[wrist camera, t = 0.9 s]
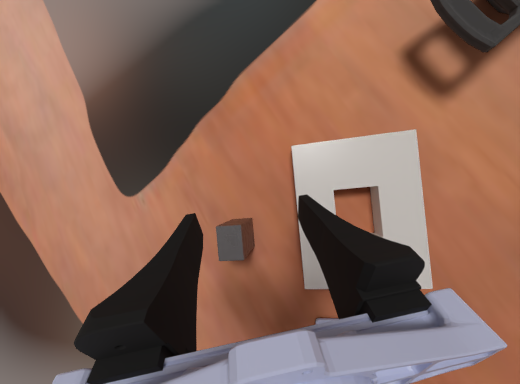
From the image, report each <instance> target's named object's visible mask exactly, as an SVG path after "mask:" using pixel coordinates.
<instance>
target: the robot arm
mask: <svg viewBox="0 0 520 384" xmlns="http://www.w3.org/2000/svg"><path fill="white" fill-rule="evenodd" d="M298 219H299V222H300V225H301V227H302V230H303V232H304V234H305V236H306V238H307V240H308V242H309V244H310V246H311V248H312V250H313V251H314V253H315V255H316V257H317V260H318V262H319V264H320V267H321V270H322V272H323V275H324V277H325V280H326V283H327V285H328V288H329V291H330V294H331V297H332V300H333V303H334V306H335V309H336V312H337V315H338V318H339V319H334V318H317V319H316V325H312V326H307V327H303V328H299V329H294V330H290V331H285V332H281V333H276V334H272V335H267V336H263V337H258V338H254V339H249V340H245V341H240V342H236V343H231V344H227V345H222V346H218V347H213V348H209V349H204V350H200V351H196V311H197V286H198V277H199V270H200V264H201V257H202V250H203V233H202V230H201V227H200V225H199V222H198V219H197V217H196V214H195V213H194V214H188V215H186V216H185V217H184V218H183V220H182V221H181V223H180V224H179V226H178V227H177V228H176V230H175V231H174V233H173V234H172V235H171V237H170V238H169V239H168V241H167V242H166V243H165V245H164V246H163V247H162V248H161V250H160V251H159V252H158V253H157V254H156V255H155V256H154V257H153V258H152V260H151V261H150V262H149V263H148V264H147V265H146V266H145V267H144V268H143V269H141V270H140V271H139V272H138V273H137V274H136V275H135V276H134V277H133V278H132V279H131V280H129V281H128V282H127V283H126V284H125V285H123V286H122V287H121V288H120V289H118V290H117V291H116V292H115V293H113V294H112V295H111V296H109V297H108V298H107V299H105V300H104V301H103V302H101V303H100V304H98V305H97V306H96V307H94V308H93V309H91V311H90V312H89V314H88V316H87V318H86V320H85V322H84V324H83V325H82V327H81V329H80V331H79V333H78V335H77V337H76V339H75V341H74V345H75V347H76V349H78V350H79V351H80V352H82V353H84V354H86V355H88V356H90V357H91V358H93V359H95V360H96V361H95V364H94V366H93V368H92V369H91V368H84V369H79V370H74V371H70V372H65V373H60V374H58V375H57V376H56V377H55V379H54V381H53V383H52V384H410V383H413V382H416V381H420V380H423V379H426V378H429V377H433V376H436V375H439V374H443V373H446V372H450V371H453V370H457V369H461V368H464V367H468V366H472V365H475V364H477V363H479V362H481V361H482V360H484V359H486V358H488V357H490V356H491V355H493V354H495V353H497V352H499V351H501V350H502V349H504V348H506V347H507V344H506V343H505V342H504V341H503V340H502V339H501V338H500V337H499V336H498V335H497V334H496V333H495V332H494V331H493V330H492V329H491V328H490V327H489V326H488V325H487V324H486V323H485V322H484V321H483V320H482V319H481V318H480V317H479V316H478V315H477V314H476V313H475V312H474V311H473V310H472V309H471V308H470V307H469V306H468V305H467V304H466V303H465V302H464V301H463V300H462V299H461V298H460V297H459V296H458V295H457V294H456V293H455V292H454V291H453V290H452V289H451V288H446V289H442V290H437V291H433V292H429V293H427V294H425V295H424V294H423V293H422V292H421V291H420V290H419V289H421V286H420V284H419V283H418V282H417V281H416V280H417V279H418V277H419V276H420V274H421V273H422V271H423V269H424V267H425V262H424V260H423V259H422V258H421V257H420V256H419V255H418V254H417V253H416V252H415V251H414V250H413V249H412V248H411V247H410V246H407V245H404V244H400V243H397V242H394V241H390V240H387V239H385V238H382V237H379V236H376V235H374V234H371V233H369V232H367V231H364V230H362V229H360V228H358V227H356V226H354V225H352V224H350V223H348V222H346V221H345V220H343V219H341V218H339V217H338V216H336V215H335V214H333V213H332V212H330V211H329V210H327V209H326V208H324V207H323V206H322V205H320V204H319V203H318V202H316V201H315V200H314V199H312V198H311V197H310V196H309V195H307V194H306V195H300V196H299V199H298Z"/></svg>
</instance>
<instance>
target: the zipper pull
mask: <svg viewBox="0 0 520 384" xmlns="http://www.w3.org/2000/svg"><path fill="white" fill-rule="evenodd" d="M487 1H488V2H489V3H490V4H491V5H492V6H493V7H494V8H495V9H496V10H497V11H498V12H501V13H505V14H509V18H508V20H507V21H506V22H504V23H503V24H502V25H500V24H498V23H496V22H495V21H493V20H491V19H490V18H488V17H487V16H486V15H485V14H484V13H483V12H482V11H481V10H479V9H478V8H477V7H476V6H475V5H474V4H473V3H472V2H471V1H470V0H431V2H432V4H433V6H434V8H435V10H436V12H437V13H438V14H439V16H440V17H441V18H442V20H443V21H444V22H445V23H446V24H447V25H448V26H449V27H450V28H451V29H452V30H453V31H454V32H455V33H456V34H457V35H458V36H459V37H460V38H462V39H463V40H464V41H465V42H466V43H468V44H469V45H471V46H473V47H474V48H476V49H478V50H480V51H481V52H488V51H489V50H491V49H492V48H493V47H495V46H496V45H497V44H498V43H499V42H501V41H502V40H503V39H504V38H505V37H506V36H508V35H509V34H510V33H511V32H512V31H513V30H514V29H516V28H517V27H518V26H519V25H520V0H487Z"/></svg>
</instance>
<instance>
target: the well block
mask: <svg viewBox="0 0 520 384" xmlns="http://www.w3.org/2000/svg"><path fill="white" fill-rule="evenodd" d="M292 158H293V169H294V179H295V190H296V200H297V211H298V199H299V196H300V195H306V194H307V195H309V196H310V197H311V198H312V199H314V200H315V201H316V202H318V203H319V204H320V205H322V206H323V207H324V208H326V209H327V210H329V211H330V212H332V213H333V214H335V215H336V212H335V201H334V191H333V190H338V189H350V188H361V187H370V192H371V202H372V212H373V222H374V232H375V233H371V234H374V235H376V236H379V237H382V238H385V239H387V240H390V241H394V242H397V243H400V244H404V245H407V246H410V247H411V248H412V249H413V250H414V251H415V252H416V253H417V254H418V255H419V256H420V257H421V258H422V259H423V260H424V262H425V267H424V269H423V271H422V273H421V274H420V276H419V277H418V279H417V280H416V281H417V282H418V283H419V284H420V286H421V289H433V287H432V277H431V267H430V258H429V248H428V239H427V229H426V220H425V210H424V201H423V191H422V181H421V172H420V162H419V153H418V143H417V134H416V129H415V130H408V131H400V132H393V133H385V134H378V135H370V136H363V137H355V138H348V139H340V140H333V141H325V142H317V143H310V144H302V145H295V146H292ZM298 222H299V219H298ZM299 232H300V243H301V254H302V264H303V275H304V285H305V289H329V288H328V285H327V283H326V280H325V277H324V275H323V272H322V270H321V267H320V264H319V262H318V260H317V257H316V255H315V253H314V251H313V250H312V248H311V246H310V244H309V242H308V240H307V238H306V236H305V234H304V232H303V230H302V227H301V225H300V222H299Z"/></svg>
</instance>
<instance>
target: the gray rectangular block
mask: <svg viewBox="0 0 520 384" xmlns="http://www.w3.org/2000/svg"><path fill="white" fill-rule="evenodd" d="M216 232H217V243H218V255H219V261H233V260H244V259H245V258H246V257H247V255H248V254H249V253H250V251H251V250H252V249H253V247H254V246H255V244H254V233H253V222H252V218H244V219H232V220H230V221H227V222H225V223H223V224H221V225H218V226H216Z"/></svg>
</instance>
